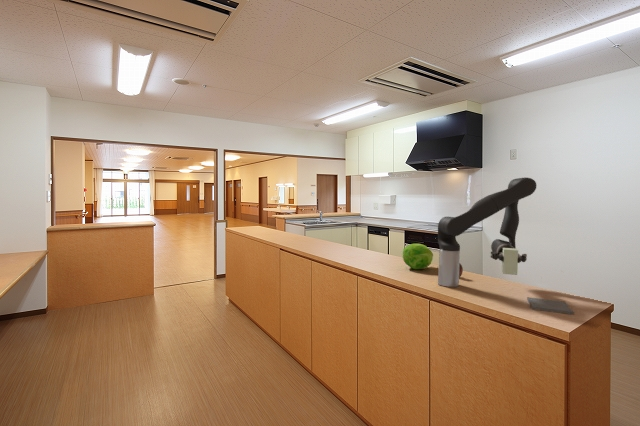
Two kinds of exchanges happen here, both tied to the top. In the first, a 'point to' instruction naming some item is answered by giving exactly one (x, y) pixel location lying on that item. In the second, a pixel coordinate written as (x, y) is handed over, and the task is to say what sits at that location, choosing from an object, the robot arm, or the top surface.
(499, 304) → the top surface
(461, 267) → the tin
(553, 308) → the charcoal mat
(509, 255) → the sage block
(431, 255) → the lettuce
